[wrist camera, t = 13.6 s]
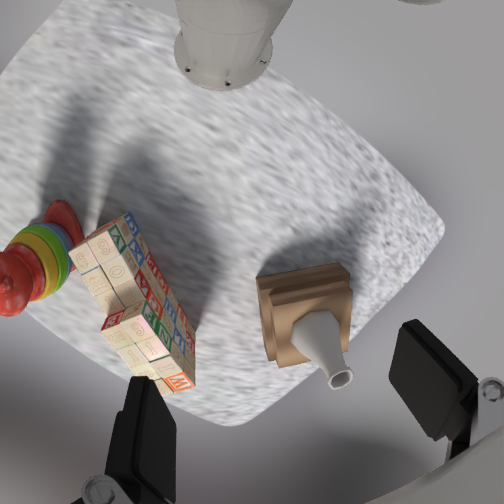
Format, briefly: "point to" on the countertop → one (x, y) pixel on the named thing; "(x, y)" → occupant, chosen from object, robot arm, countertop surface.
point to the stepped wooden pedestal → (301, 306)
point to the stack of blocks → (137, 305)
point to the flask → (322, 346)
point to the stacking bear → (38, 259)
